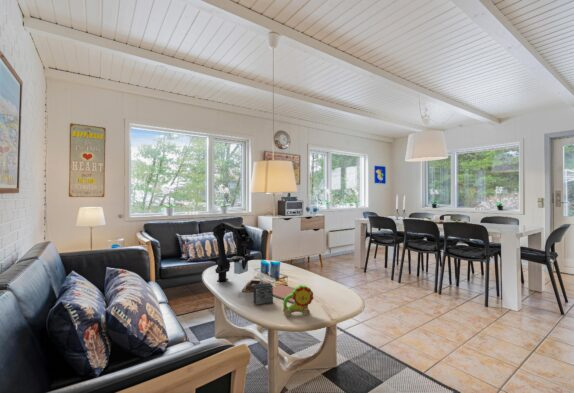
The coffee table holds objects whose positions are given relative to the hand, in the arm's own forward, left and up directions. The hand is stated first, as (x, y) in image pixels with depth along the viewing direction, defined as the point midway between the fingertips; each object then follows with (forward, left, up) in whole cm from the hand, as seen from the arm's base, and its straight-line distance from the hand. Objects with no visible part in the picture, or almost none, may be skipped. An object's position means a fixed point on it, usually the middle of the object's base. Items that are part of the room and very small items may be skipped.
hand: (241, 269), depth 197 cm
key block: (0, 0, -2) cm, 2 cm away
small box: (+25, +20, -13) cm, 35 cm away
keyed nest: (0, +9, -12) cm, 15 cm away
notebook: (+11, +33, -13) cm, 37 cm away
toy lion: (+39, +42, -13) cm, 59 cm away
